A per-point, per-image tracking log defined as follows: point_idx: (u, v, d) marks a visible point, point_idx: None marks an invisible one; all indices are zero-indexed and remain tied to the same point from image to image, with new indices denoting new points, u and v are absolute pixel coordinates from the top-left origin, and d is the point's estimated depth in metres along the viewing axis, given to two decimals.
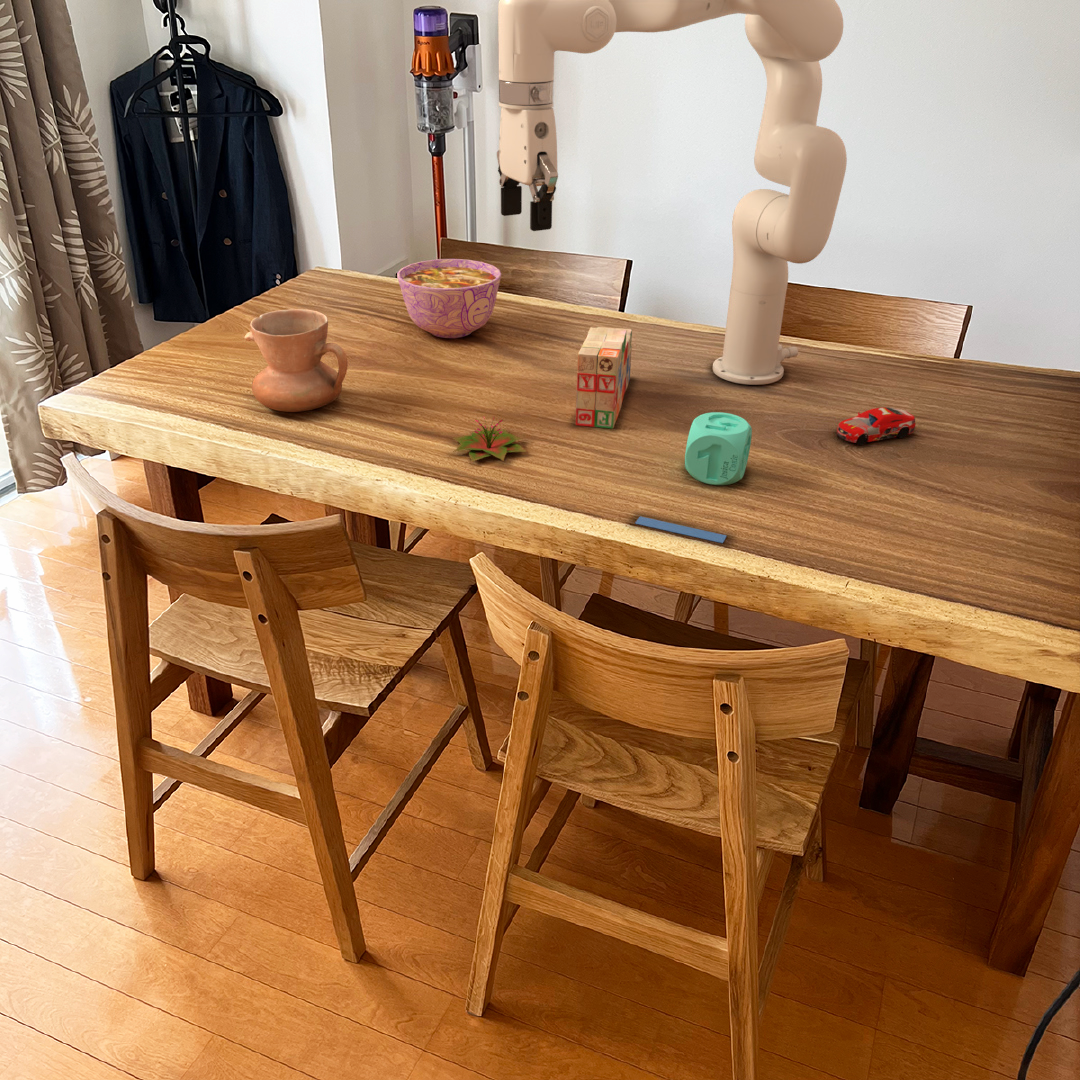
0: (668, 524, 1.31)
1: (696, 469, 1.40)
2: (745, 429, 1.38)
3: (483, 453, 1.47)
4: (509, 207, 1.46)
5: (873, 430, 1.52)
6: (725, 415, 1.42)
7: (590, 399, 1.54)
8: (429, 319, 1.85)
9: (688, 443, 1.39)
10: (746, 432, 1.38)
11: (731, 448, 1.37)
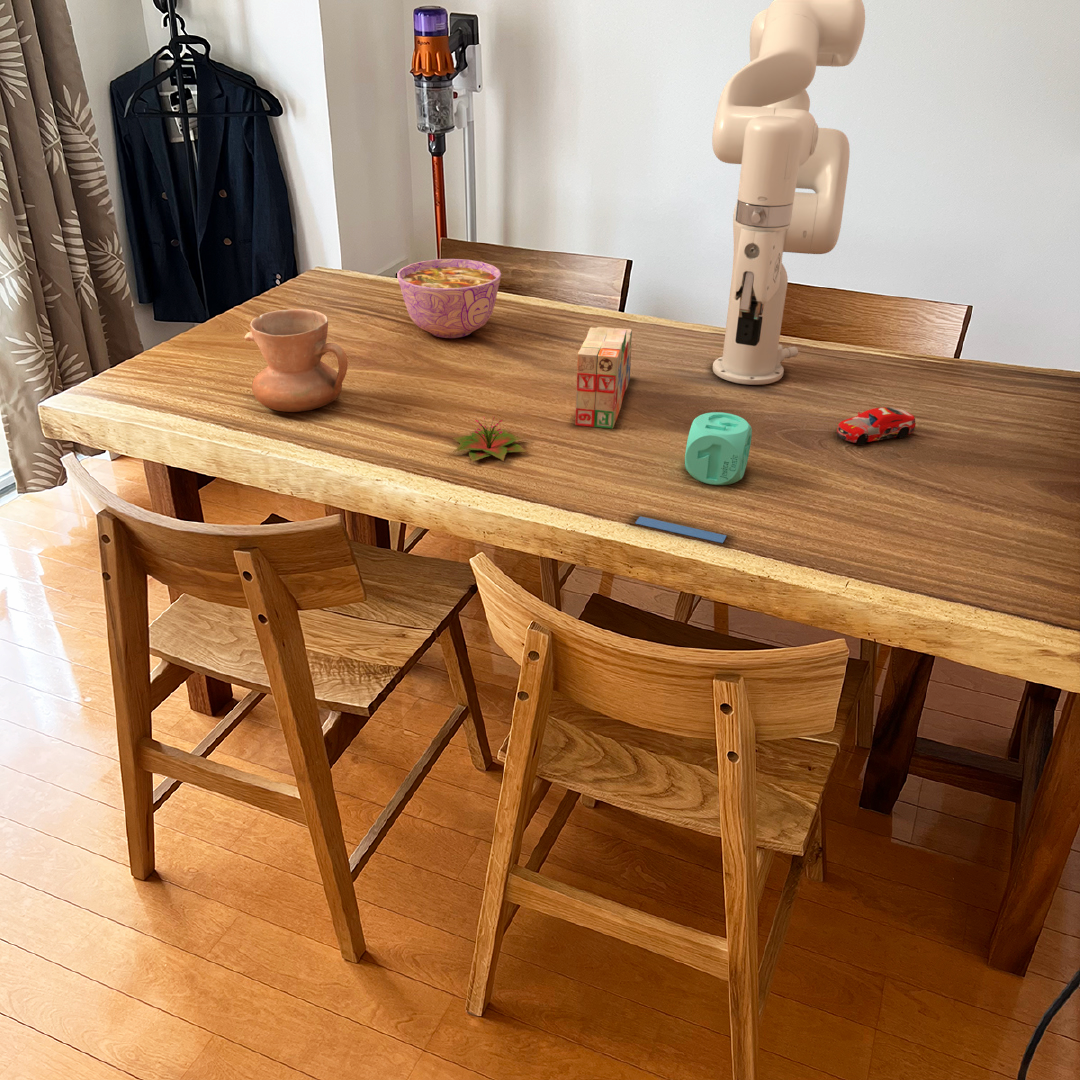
0: (668, 524, 1.31)
1: (696, 469, 1.40)
2: (745, 430, 1.38)
3: (483, 453, 1.47)
4: None
5: (873, 430, 1.52)
6: (725, 415, 1.42)
7: (590, 399, 1.54)
8: (429, 319, 1.85)
9: (688, 443, 1.39)
10: (746, 432, 1.38)
11: (731, 448, 1.37)
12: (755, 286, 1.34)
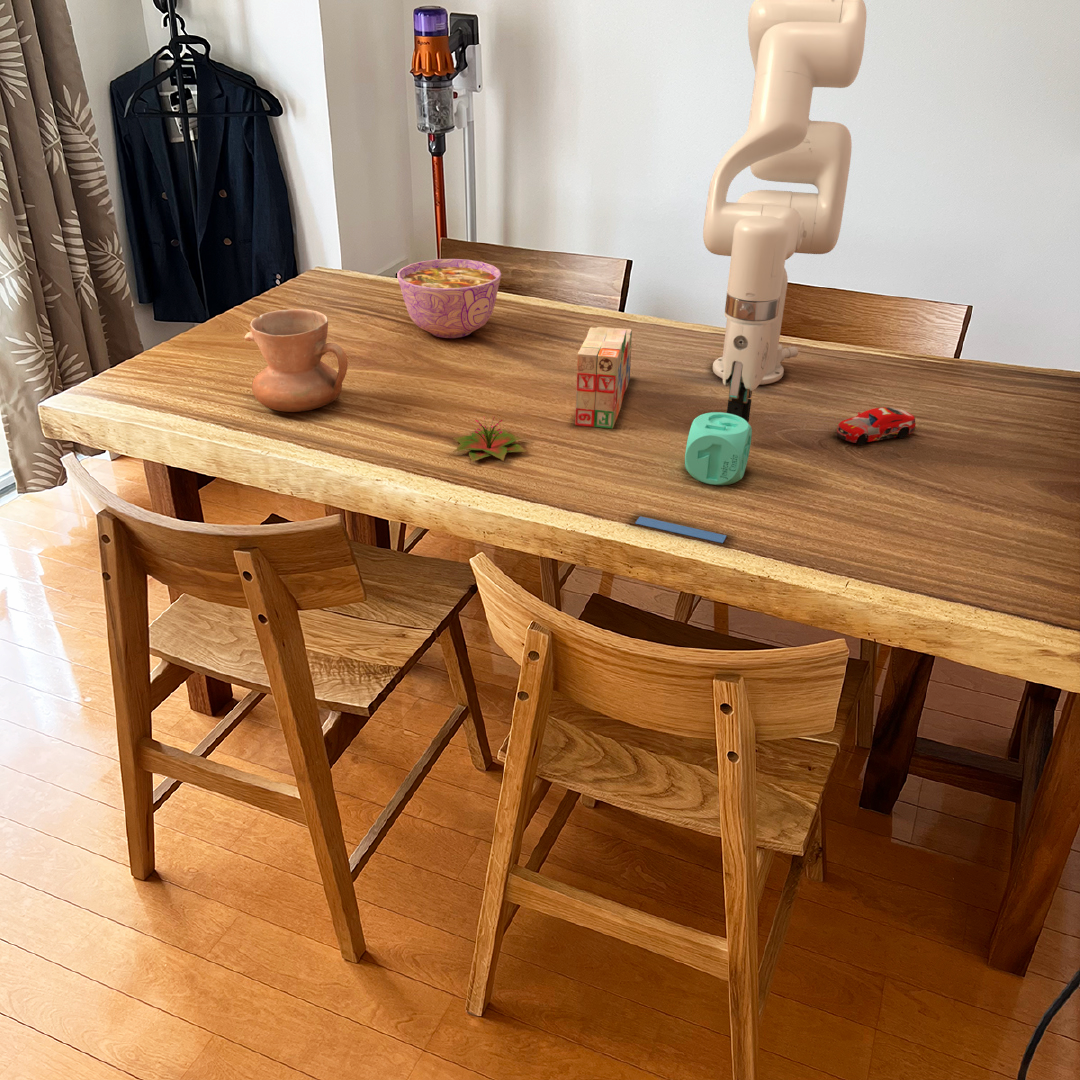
0: (668, 524, 1.31)
1: (696, 469, 1.40)
2: (745, 429, 1.38)
3: (483, 453, 1.47)
4: None
5: (873, 430, 1.52)
6: (725, 415, 1.42)
7: (590, 399, 1.54)
8: (429, 319, 1.85)
9: (688, 443, 1.39)
10: (746, 432, 1.38)
11: (731, 448, 1.37)
12: (744, 375, 1.41)
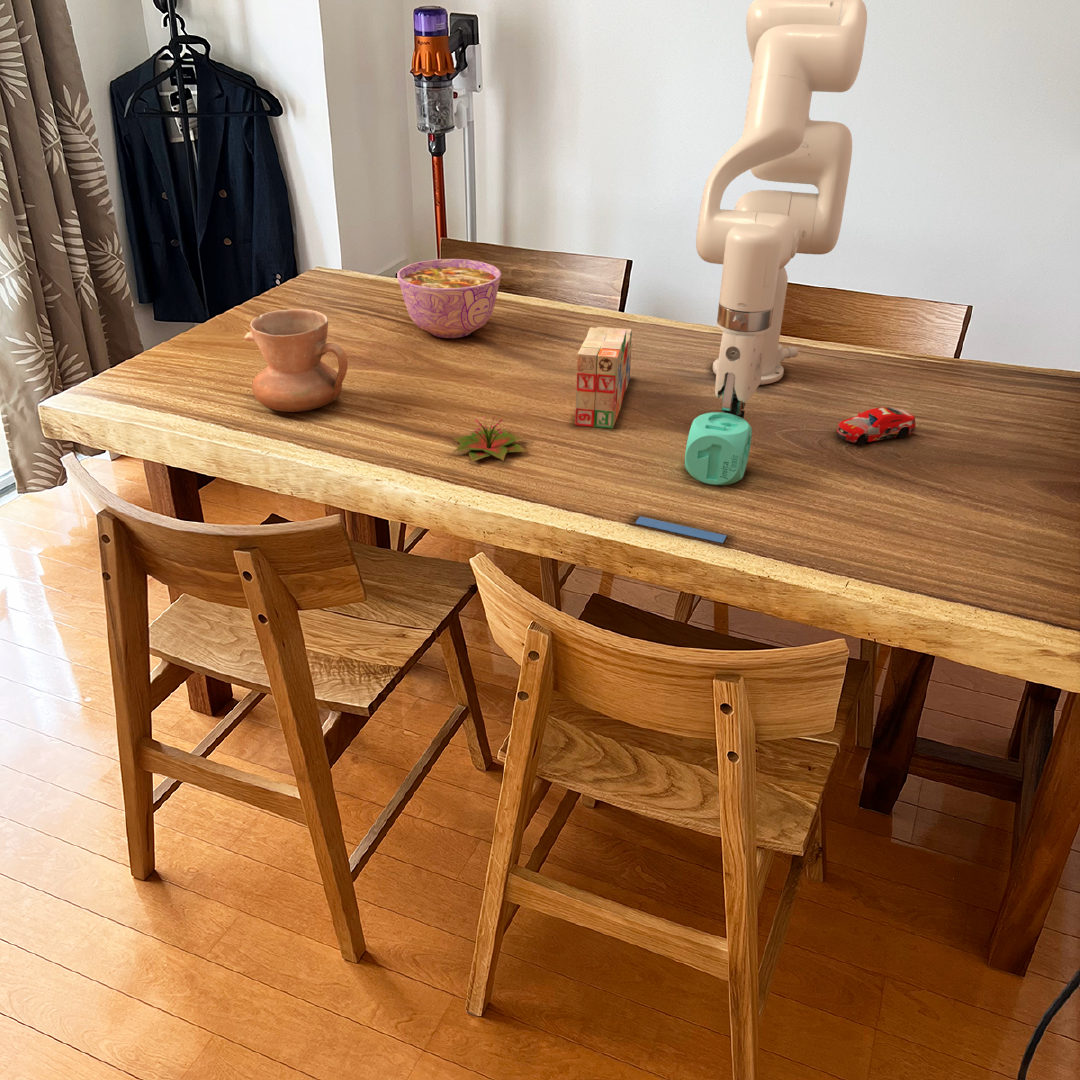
0: (668, 524, 1.31)
1: (696, 469, 1.40)
2: (745, 429, 1.38)
3: (483, 453, 1.47)
4: None
5: (873, 430, 1.52)
6: (725, 415, 1.42)
7: (589, 399, 1.54)
8: (429, 319, 1.85)
9: (688, 443, 1.39)
10: (746, 432, 1.38)
11: (731, 448, 1.37)
12: (736, 387, 1.38)
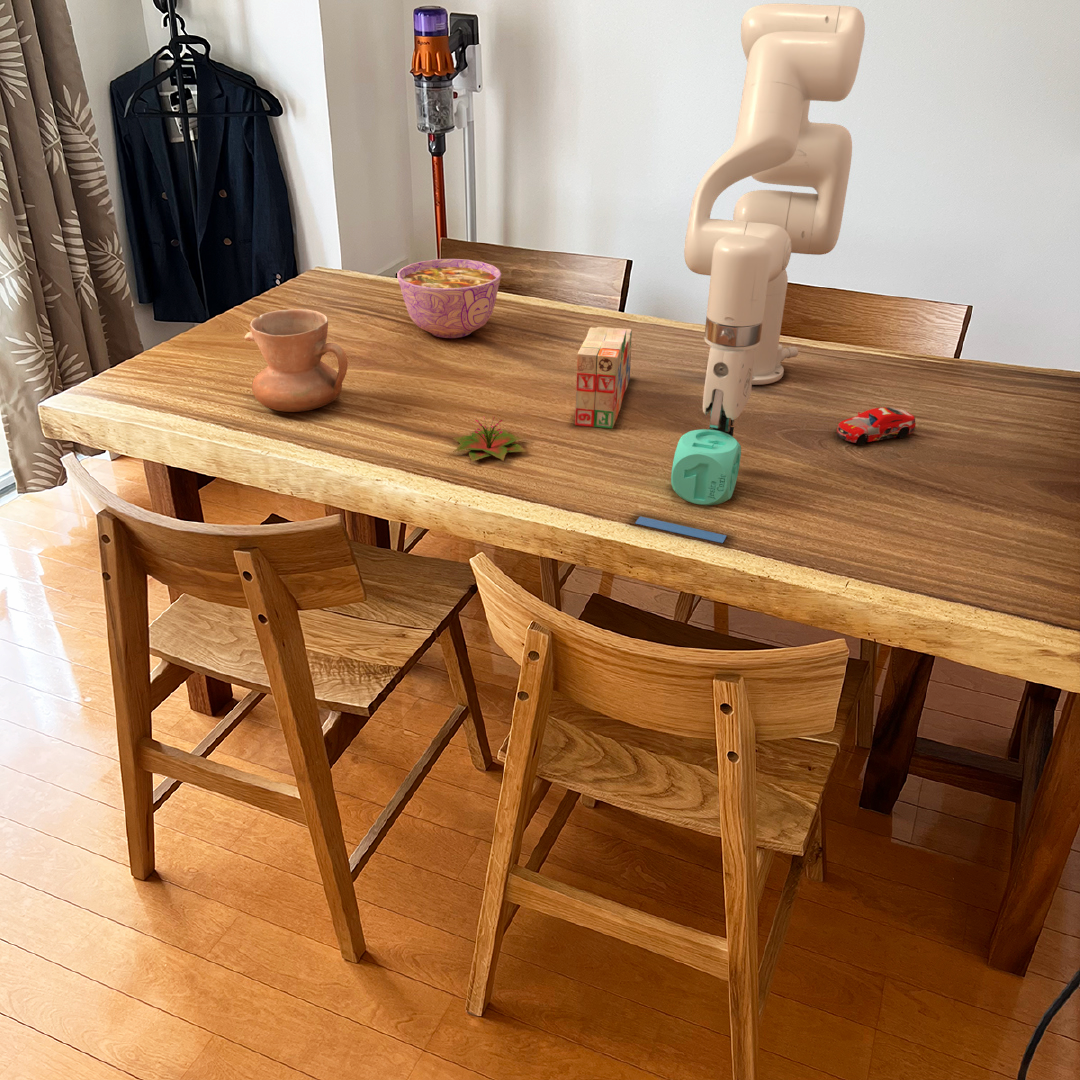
0: (668, 524, 1.31)
1: (683, 488, 1.35)
2: (733, 448, 1.33)
3: (483, 453, 1.47)
4: None
5: (873, 430, 1.52)
6: (713, 432, 1.37)
7: (589, 399, 1.54)
8: (429, 319, 1.85)
9: (674, 462, 1.34)
10: (734, 451, 1.33)
11: (719, 468, 1.32)
12: (724, 404, 1.33)
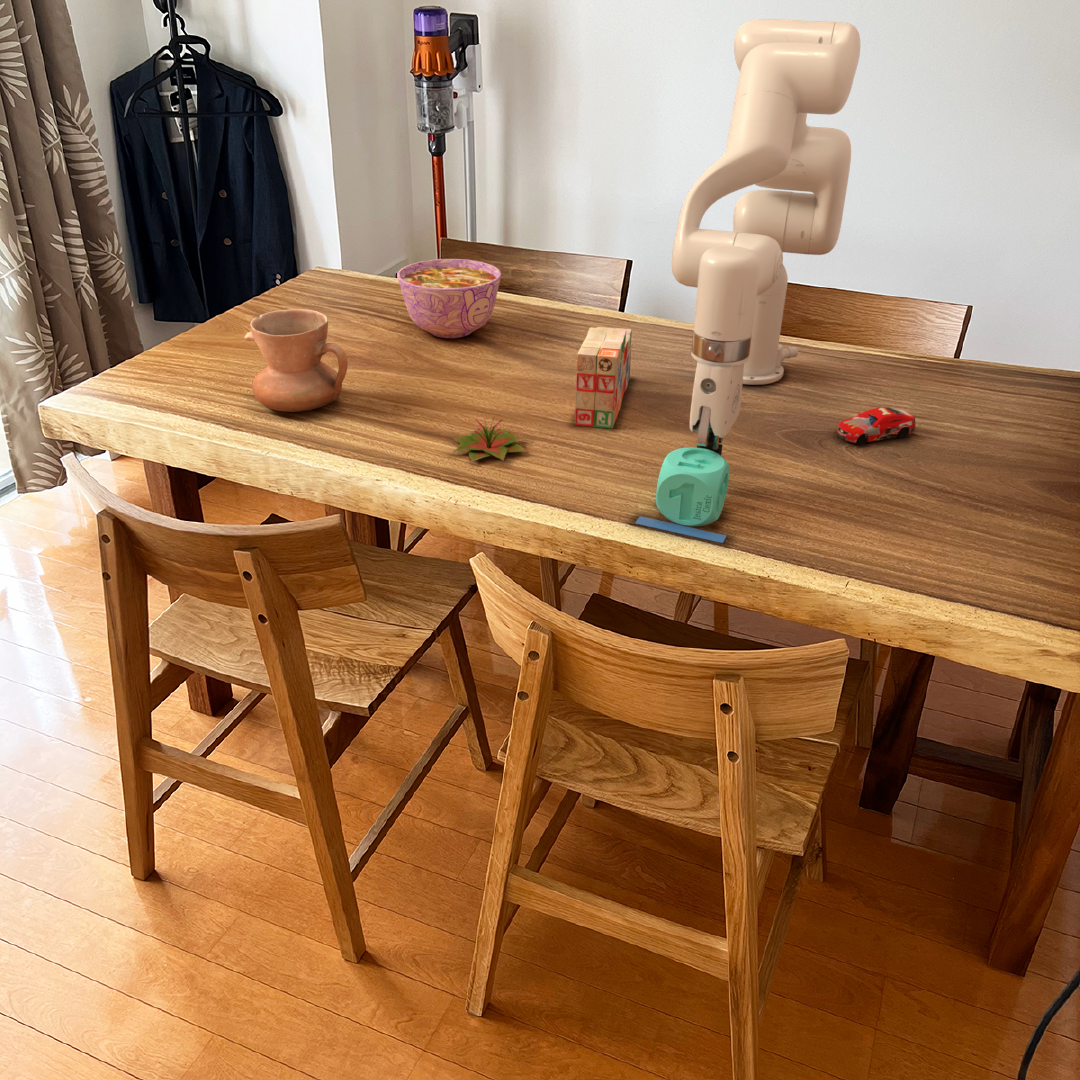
0: (668, 524, 1.31)
1: (668, 509, 1.30)
2: (720, 468, 1.28)
3: (483, 453, 1.47)
4: None
5: (873, 430, 1.52)
6: (701, 451, 1.32)
7: (589, 399, 1.54)
8: (429, 319, 1.85)
9: (659, 481, 1.29)
10: (721, 470, 1.28)
11: (704, 488, 1.27)
12: (712, 421, 1.28)
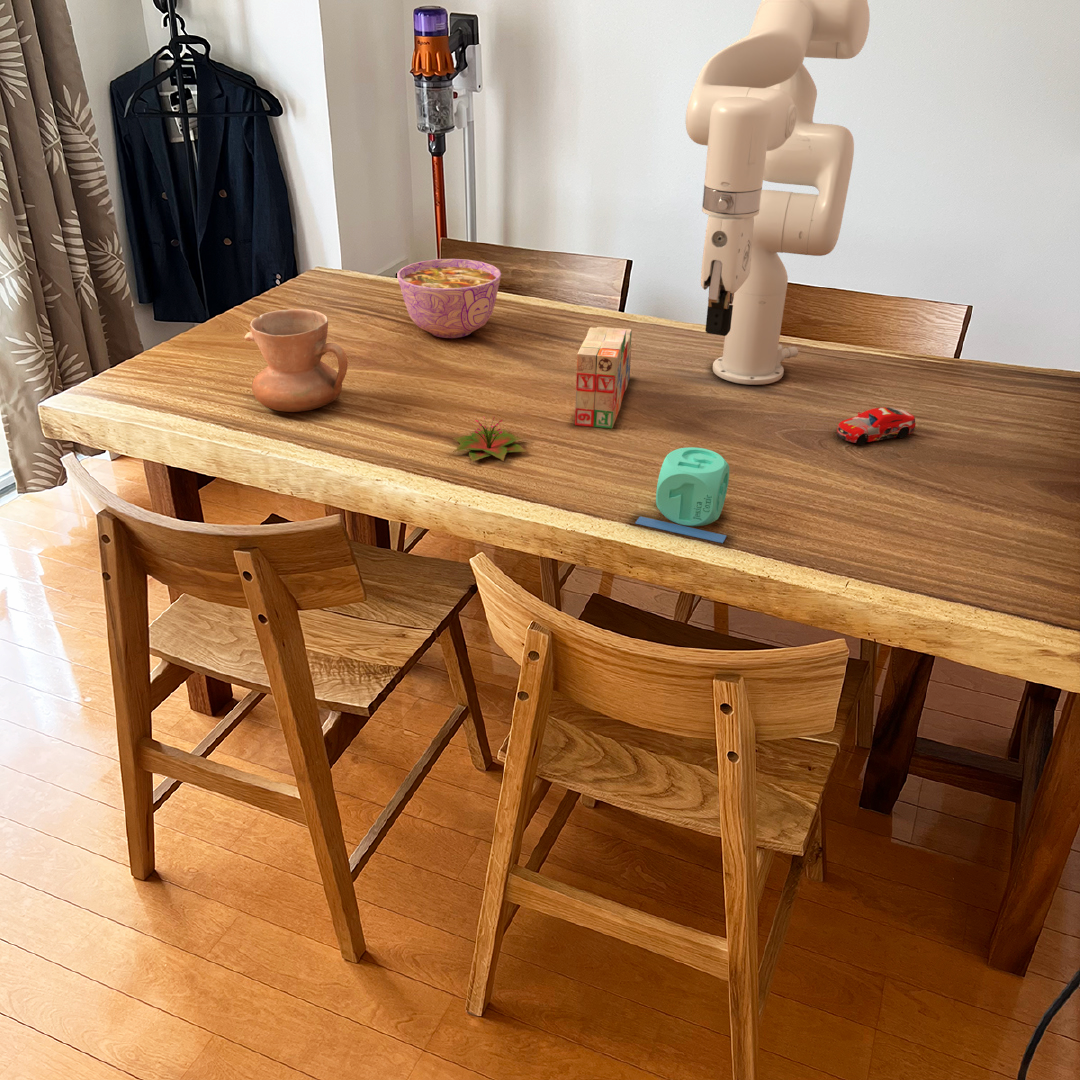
0: (668, 524, 1.31)
1: (668, 509, 1.30)
2: (720, 468, 1.28)
3: (483, 453, 1.47)
4: None
5: (873, 430, 1.52)
6: (701, 451, 1.32)
7: (589, 399, 1.54)
8: (429, 319, 1.85)
9: (659, 481, 1.29)
10: (721, 470, 1.28)
11: (704, 488, 1.27)
12: (723, 275, 1.30)
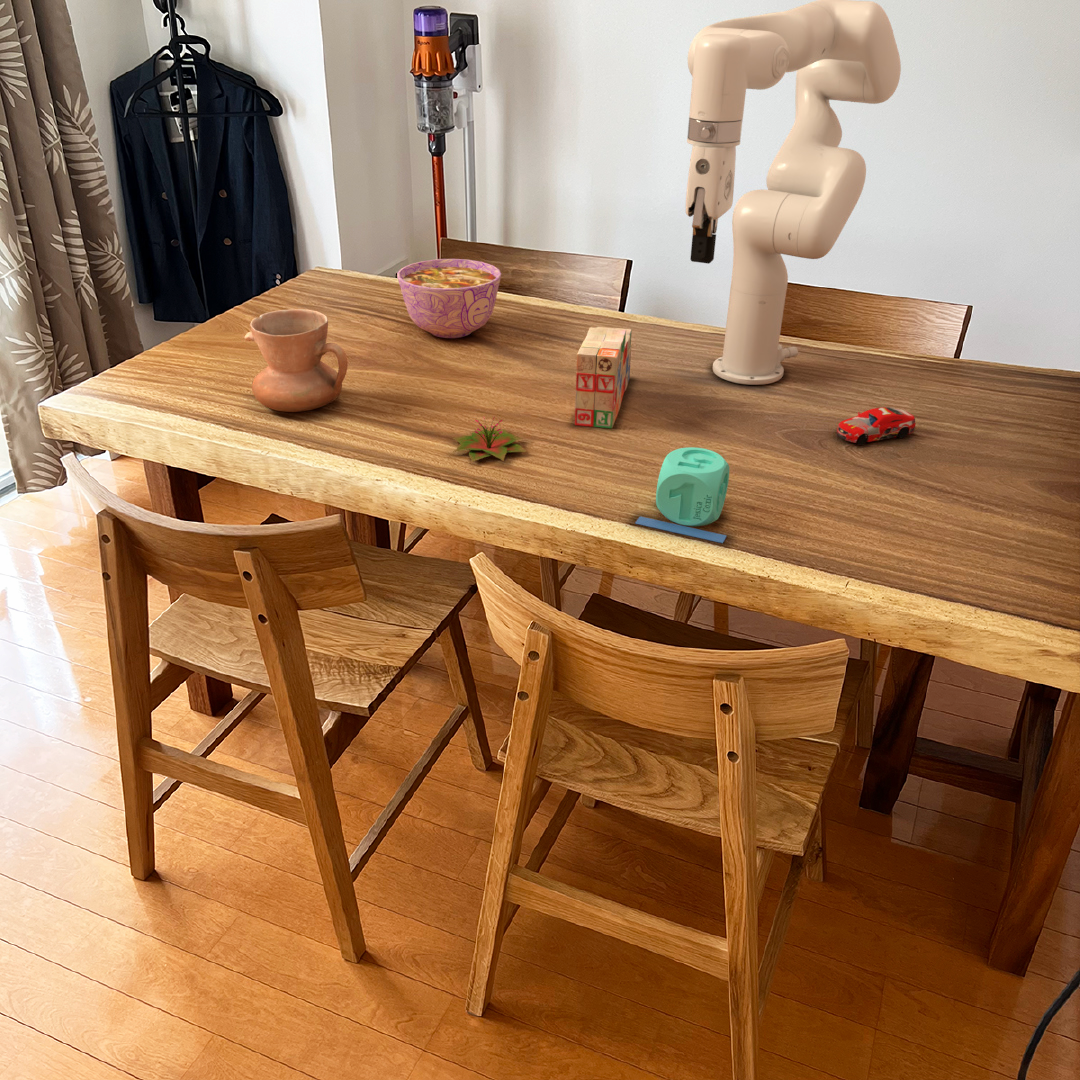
0: (668, 524, 1.31)
1: (668, 509, 1.30)
2: (720, 468, 1.28)
3: (483, 453, 1.47)
4: None
5: (873, 430, 1.52)
6: (701, 451, 1.32)
7: (589, 399, 1.54)
8: (429, 319, 1.85)
9: (659, 481, 1.29)
10: (721, 470, 1.28)
11: (704, 488, 1.27)
12: (706, 201, 1.39)
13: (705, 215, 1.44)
